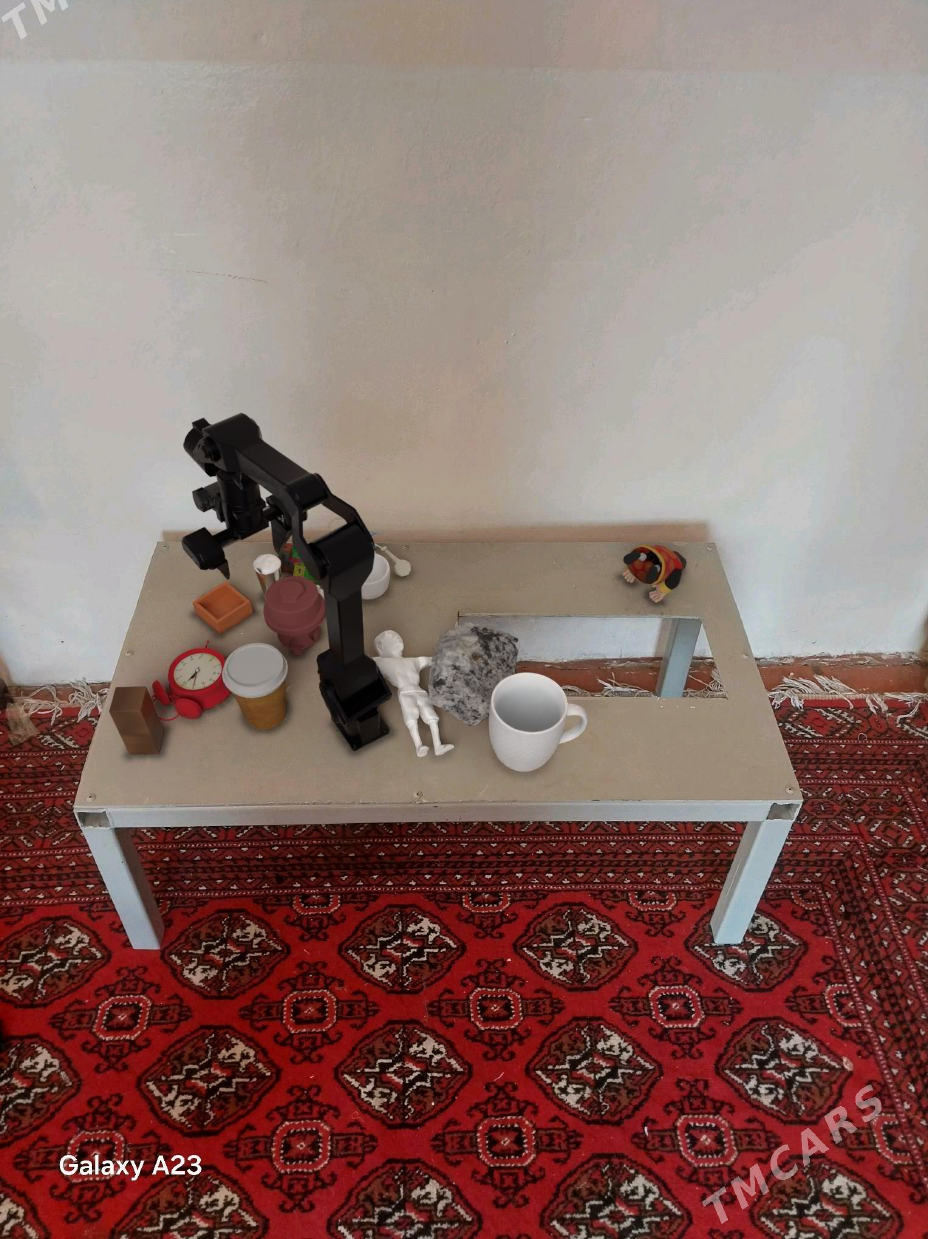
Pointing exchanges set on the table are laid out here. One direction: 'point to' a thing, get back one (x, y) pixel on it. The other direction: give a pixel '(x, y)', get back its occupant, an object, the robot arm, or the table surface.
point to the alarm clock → (194, 682)
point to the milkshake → (267, 570)
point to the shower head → (400, 565)
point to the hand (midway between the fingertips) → (252, 564)
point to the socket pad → (222, 607)
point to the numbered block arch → (293, 563)
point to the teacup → (377, 579)
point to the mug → (530, 720)
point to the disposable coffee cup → (258, 683)
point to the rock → (470, 669)
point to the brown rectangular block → (137, 720)
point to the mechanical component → (294, 612)
